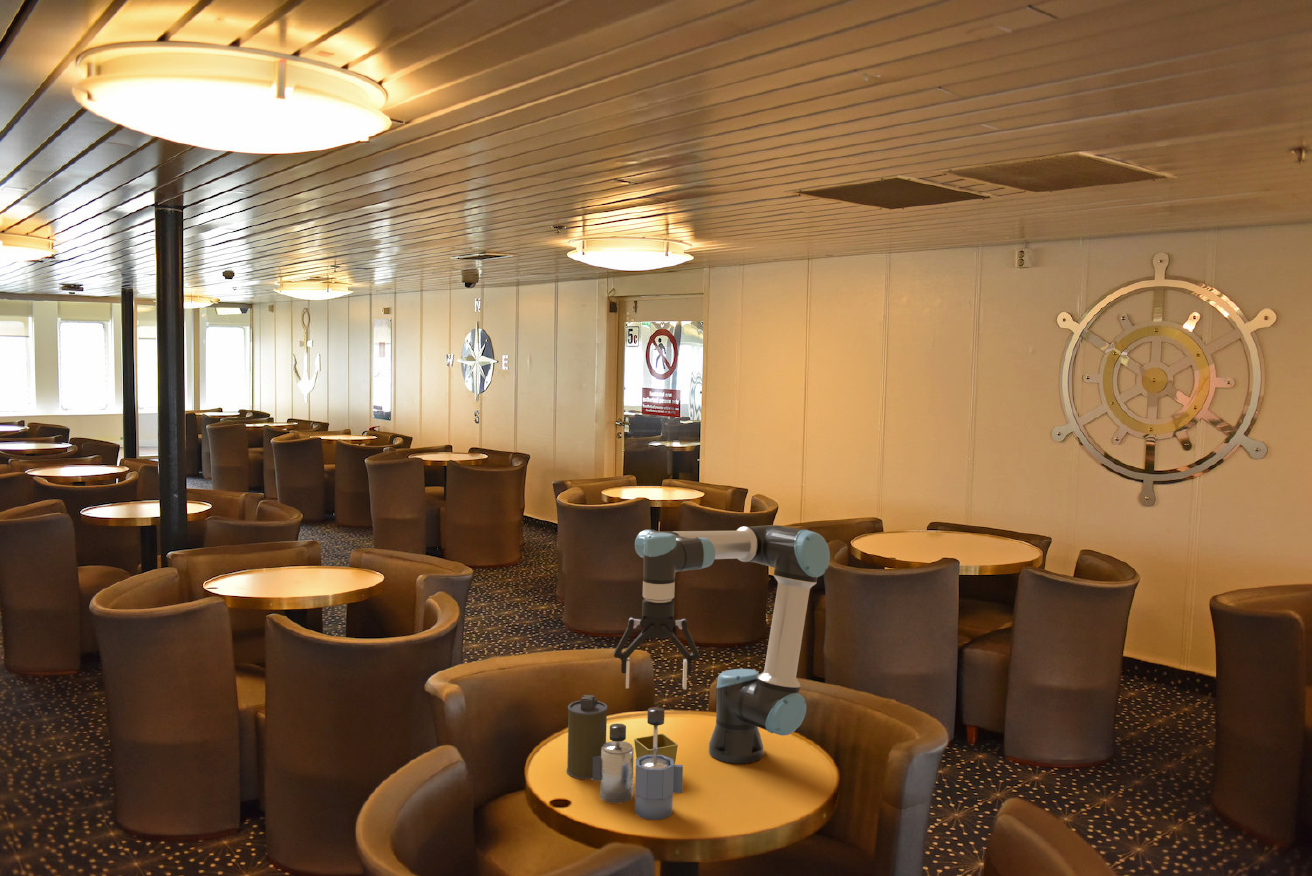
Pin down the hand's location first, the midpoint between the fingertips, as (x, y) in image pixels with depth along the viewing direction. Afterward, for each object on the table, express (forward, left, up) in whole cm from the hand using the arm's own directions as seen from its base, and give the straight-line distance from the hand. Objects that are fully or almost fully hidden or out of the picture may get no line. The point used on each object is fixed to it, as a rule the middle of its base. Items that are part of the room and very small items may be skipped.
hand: (655, 687), depth 224 cm
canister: (+17, -23, -30) cm, 42 cm away
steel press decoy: (+9, -8, -30) cm, 32 cm away
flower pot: (-1, -21, -31) cm, 37 cm away
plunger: (0, 0, -19) cm, 19 cm away
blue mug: (-1, 0, -30) cm, 30 cm away
